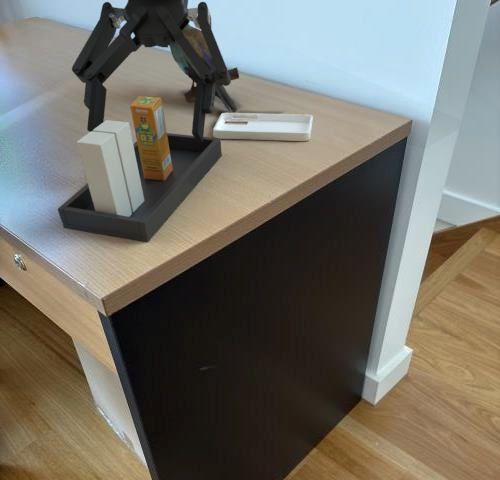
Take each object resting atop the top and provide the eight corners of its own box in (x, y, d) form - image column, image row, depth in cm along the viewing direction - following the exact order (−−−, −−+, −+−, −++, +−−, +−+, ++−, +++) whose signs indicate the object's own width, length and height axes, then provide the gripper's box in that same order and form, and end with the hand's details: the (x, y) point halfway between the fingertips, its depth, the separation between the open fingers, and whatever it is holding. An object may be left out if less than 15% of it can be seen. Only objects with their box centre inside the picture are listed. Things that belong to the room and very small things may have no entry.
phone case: (213, 138, 80) (309, 141, 78) (212, 130, 79) (309, 132, 77) (222, 120, 85) (312, 122, 83) (221, 112, 84) (313, 114, 82)
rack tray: (63, 227, 62) (57, 208, 60) (151, 147, 78) (148, 130, 76) (148, 242, 59) (144, 222, 57) (221, 155, 75) (220, 138, 73)
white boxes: (98, 223, 62) (75, 141, 55) (124, 197, 66) (106, 119, 59) (120, 226, 61) (100, 144, 54) (144, 201, 65) (129, 122, 58)
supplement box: (142, 180, 69) (127, 104, 62) (152, 168, 72) (138, 94, 65) (164, 182, 68) (152, 105, 62) (174, 170, 71) (163, 95, 64)
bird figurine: (265, 104, 87) (228, -24, 82) (214, 118, 84) (171, -14, 79) (236, 123, 99) (202, 13, 94) (190, 137, 96) (152, 23, 91)
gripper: (54, -51, 63) (37, 119, 63) (253, -54, 59) (237, 126, 59) (82, -9, 70) (67, 143, 70) (261, -10, 67) (246, 150, 67)
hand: (145, 136), depth 65 cm, fingers open, 13 cm apart
